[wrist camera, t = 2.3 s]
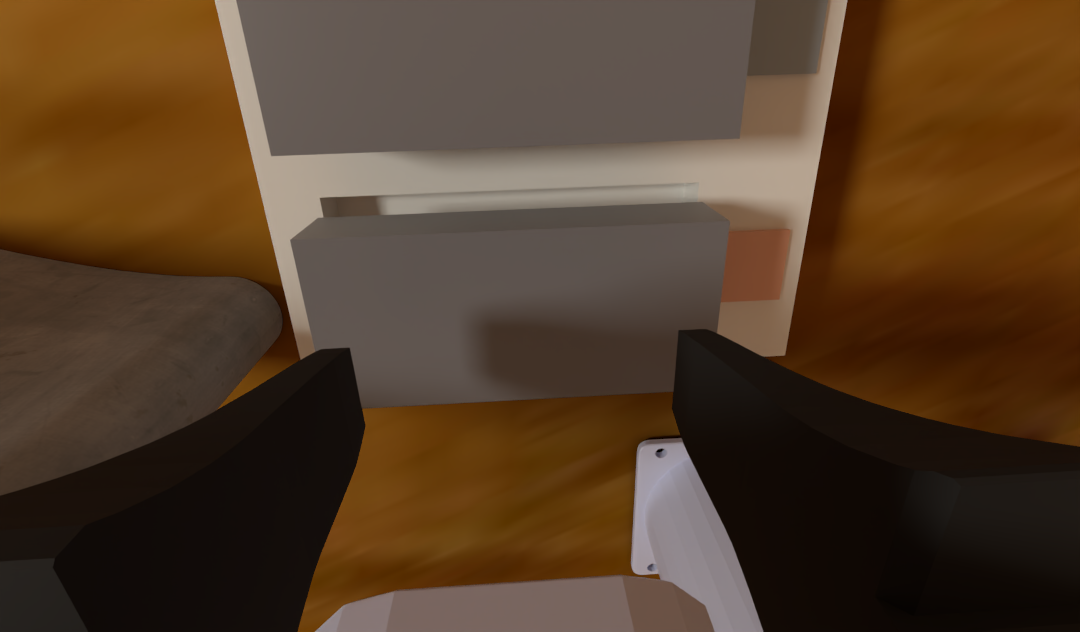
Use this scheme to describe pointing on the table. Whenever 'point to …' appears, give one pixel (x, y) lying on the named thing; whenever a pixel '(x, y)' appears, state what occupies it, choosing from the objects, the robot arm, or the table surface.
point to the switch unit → (600, 172)
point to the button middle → (495, 72)
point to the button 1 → (512, 299)
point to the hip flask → (115, 359)
